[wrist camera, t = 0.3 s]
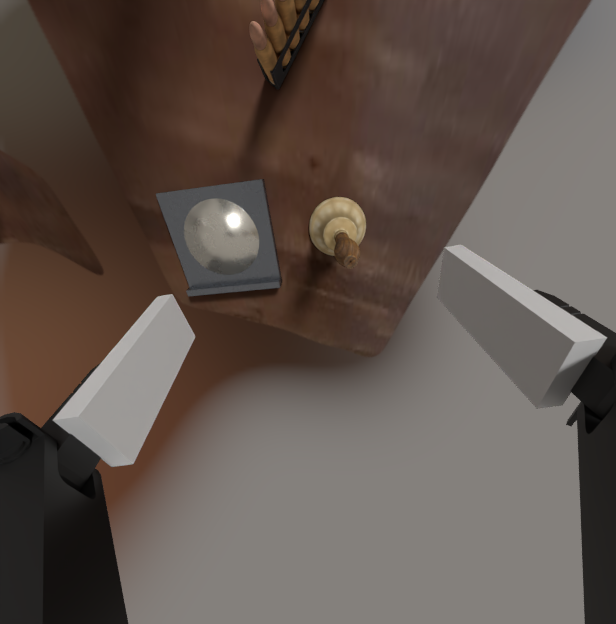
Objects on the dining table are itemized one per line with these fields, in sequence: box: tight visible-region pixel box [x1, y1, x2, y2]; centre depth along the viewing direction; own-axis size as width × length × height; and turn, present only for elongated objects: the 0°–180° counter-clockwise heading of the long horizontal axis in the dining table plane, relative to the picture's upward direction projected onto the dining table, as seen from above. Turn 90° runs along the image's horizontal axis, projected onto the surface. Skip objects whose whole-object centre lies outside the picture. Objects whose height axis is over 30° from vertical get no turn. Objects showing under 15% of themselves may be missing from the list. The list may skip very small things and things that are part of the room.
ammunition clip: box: [249, 0, 324, 90], centre depth 23 cm, size 11×2×12 cm, turn 144°
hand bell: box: [309, 197, 366, 268], centre depth 31 cm, size 8×8×16 cm
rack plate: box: [156, 179, 282, 296], centre depth 38 cm, size 15×15×2 cm
